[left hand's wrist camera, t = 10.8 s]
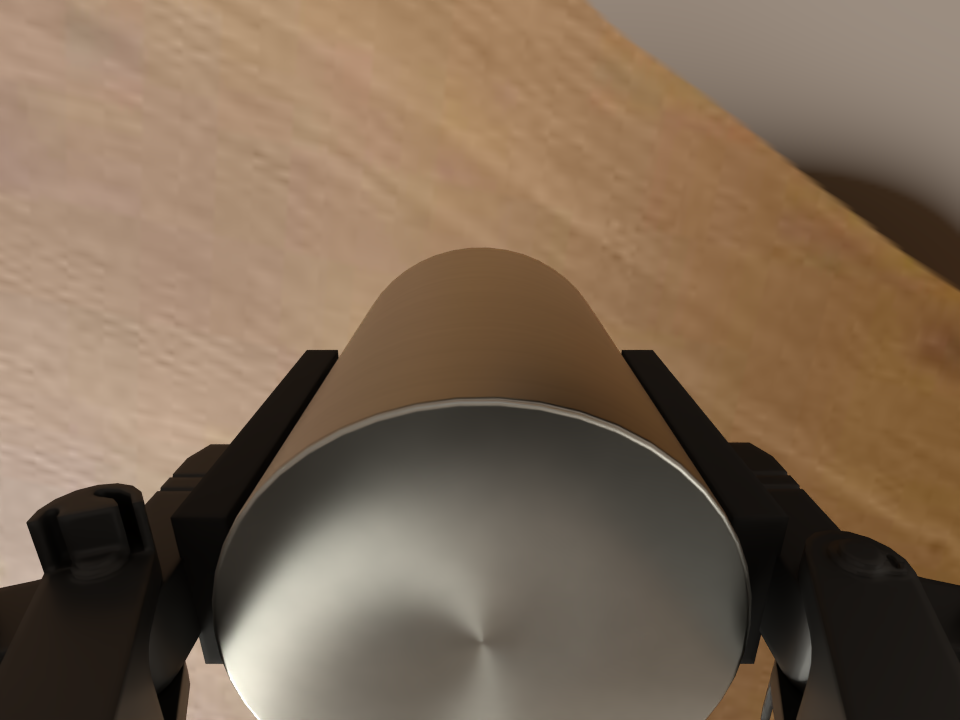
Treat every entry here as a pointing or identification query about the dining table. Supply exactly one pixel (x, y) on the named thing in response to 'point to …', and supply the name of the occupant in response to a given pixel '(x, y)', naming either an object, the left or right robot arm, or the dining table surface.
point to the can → (481, 525)
